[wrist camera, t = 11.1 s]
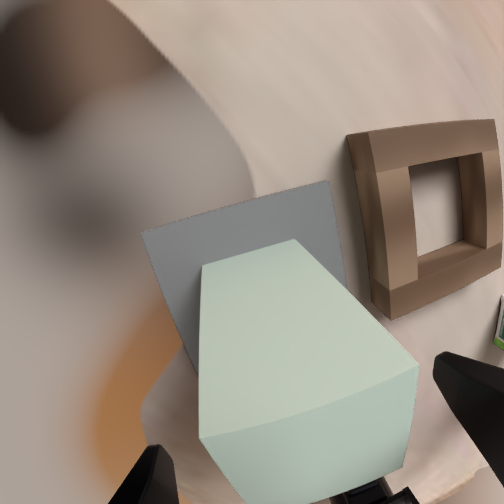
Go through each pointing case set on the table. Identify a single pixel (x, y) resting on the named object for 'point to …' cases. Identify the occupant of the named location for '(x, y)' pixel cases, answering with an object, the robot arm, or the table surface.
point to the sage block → (297, 380)
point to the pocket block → (402, 213)
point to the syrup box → (500, 327)
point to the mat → (238, 246)
